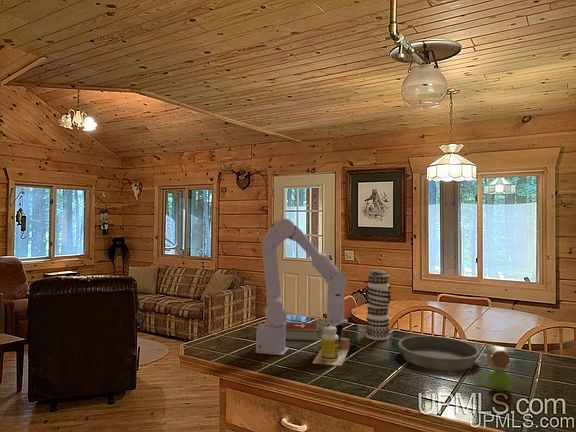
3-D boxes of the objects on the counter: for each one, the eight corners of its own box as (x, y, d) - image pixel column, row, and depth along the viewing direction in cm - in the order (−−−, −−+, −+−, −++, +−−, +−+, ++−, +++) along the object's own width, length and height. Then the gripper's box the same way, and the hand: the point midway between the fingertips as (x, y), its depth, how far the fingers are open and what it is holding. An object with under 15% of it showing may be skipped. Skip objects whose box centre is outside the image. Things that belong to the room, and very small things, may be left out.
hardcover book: (265, 331, 172) (265, 320, 172) (318, 333, 170) (318, 322, 170) (260, 339, 160) (260, 327, 160) (317, 341, 158) (317, 330, 158)
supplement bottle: (337, 362, 133) (337, 330, 133) (319, 361, 134) (320, 329, 134) (339, 356, 138) (339, 326, 138) (322, 355, 139) (322, 325, 139)
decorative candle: (371, 332, 170) (372, 268, 171) (393, 336, 165) (394, 270, 165) (360, 337, 163) (361, 270, 163) (384, 341, 157) (384, 272, 158)
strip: (312, 363, 132) (312, 352, 132) (323, 345, 152) (323, 336, 152) (341, 366, 130) (341, 355, 130) (349, 347, 149) (349, 338, 149)
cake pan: (383, 359, 138) (383, 345, 138) (419, 344, 156) (419, 331, 156) (461, 379, 121) (461, 363, 121) (491, 360, 139) (491, 346, 139)
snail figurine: (480, 386, 115) (480, 341, 115) (503, 386, 116) (503, 341, 116) (491, 395, 110) (491, 347, 110) (515, 394, 110) (515, 347, 111)
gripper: (344, 311, 139) (344, 353, 139) (350, 303, 153) (349, 341, 153) (323, 309, 141) (322, 351, 141) (330, 301, 155) (329, 340, 155)
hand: (335, 346), depth 147 cm, fingers closed
